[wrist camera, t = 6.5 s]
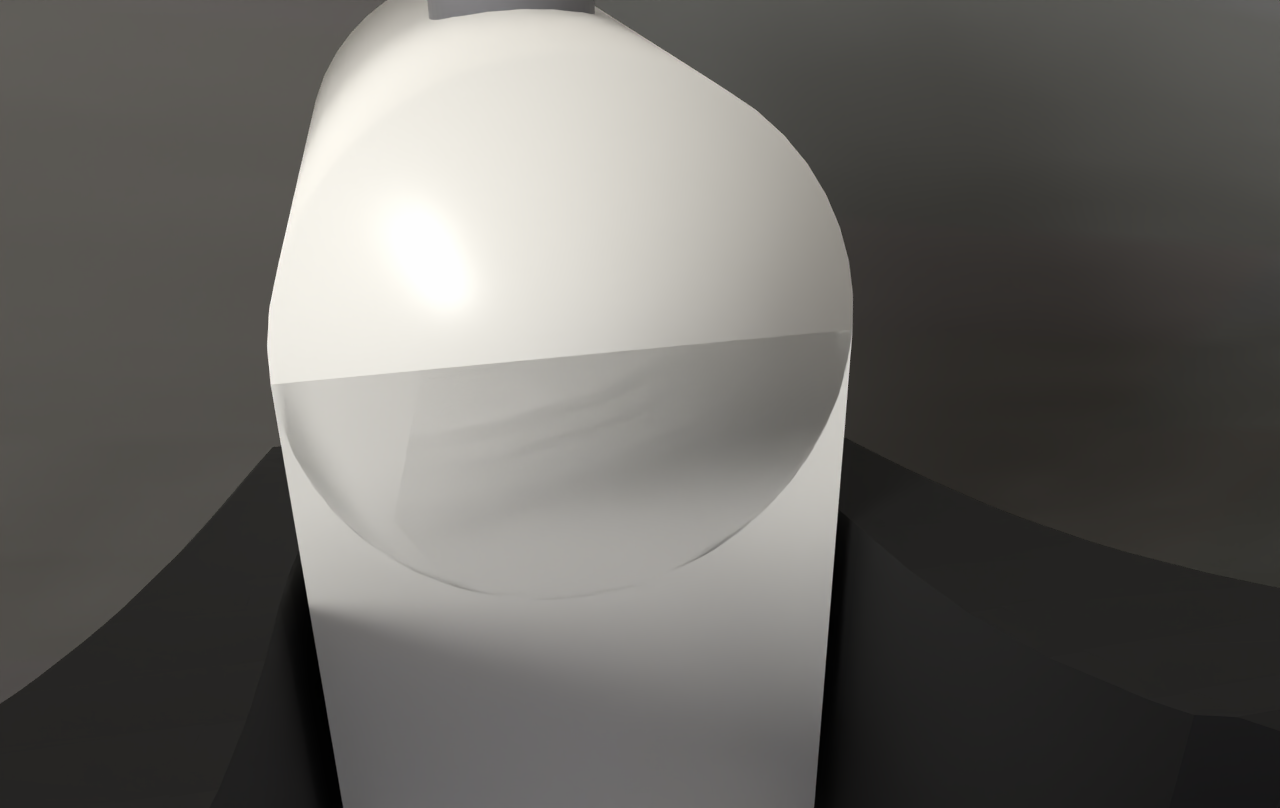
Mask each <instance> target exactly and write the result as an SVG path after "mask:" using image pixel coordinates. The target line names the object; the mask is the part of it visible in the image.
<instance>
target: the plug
mask: <svg viewBox="0 0 1280 808" xmlns="http://www.w3.org/2000/svg"><path fill="white" fill-rule="evenodd" d="M852 330H853V291H852V283H851V274H850V266H849V260H848V256H847V252H846V248H845V245H844V241H843V237H842V233H841V229H840V226H839V224H838V222H837V219H836V217H835V214H834V212H833V210H832V207H831V205H830V203H829V200H828V198H827V196H826V194H825V192H824V190H823V189H822V187H821V185H820V184H819V182H818V180H817V179H816V177H815V175H814V174H813V172H812V171H811V169H810V167H809V166H808V164H807V163H806V161H805V160H804V159H803V158H802V157H801V155H800V154H799V153H798V152H797V151H796V149H795V148H794V147H793V146H792V144H791V143H790V142H789V141H788V140H787V138H786V137H785V136H784V135H783V134H782V133H781V132H780V131H779V130H778V129H776V128H775V127H774V126H773V125H772V124H771V123H770V122H769V121H768V120H766V119H765V118H764V117H763V116H762V115H761V114H760V113H759V112H758V111H757V110H755V109H754V108H752V107H751V106H749V105H748V104H746V103H745V102H743V101H742V100H740V99H739V98H737V97H736V96H734V95H733V94H731V93H730V92H728V91H727V90H725V89H724V88H722V87H721V86H719V85H718V84H716V83H715V82H713V81H711V80H710V79H708V78H707V77H705V76H704V75H702V74H701V73H699V72H697V71H696V70H694V69H693V68H691V67H690V66H688V65H686V64H685V63H683V62H682V61H680V60H679V59H677V58H675V57H674V56H672V55H671V54H669V53H668V52H666V51H664V50H663V49H661V48H660V47H658V46H657V45H655V44H653V43H652V42H650V41H649V40H647V39H646V38H644V37H643V36H641V35H639V34H638V33H636V32H635V31H633V30H632V29H630V28H628V27H627V26H625V25H624V24H622V23H621V22H619V21H617V20H616V19H614V18H613V17H611V16H610V15H608V14H606V13H605V12H603V11H602V10H600V9H599V8H597V7H595V5H594V0H387V1H385V2H384V3H383V4H382V5H380V6H379V7H378V8H377V9H375V10H374V11H373V12H371V13H370V14H369V15H368V16H367V17H366V18H365V19H364V20H363V21H362V22H361V23H360V24H359V25H358V26H357V27H356V28H355V29H354V30H353V31H352V32H351V33H350V35H349V36H348V37H347V39H346V40H345V42H344V43H343V44H342V46H341V47H340V48H339V50H338V51H337V53H336V54H335V56H334V58H333V60H332V62H331V64H330V66H329V68H328V70H327V71H326V73H325V75H324V78H323V81H322V84H321V86H320V89H319V92H318V95H317V98H316V102H315V106H314V110H313V115H312V119H311V124H310V128H309V132H308V137H307V141H306V146H305V150H304V154H303V159H302V163H301V168H300V172H299V176H298V181H297V185H296V190H295V194H294V198H293V203H292V207H291V212H290V216H289V220H288V225H287V229H286V234H285V238H284V242H283V247H282V251H281V256H280V260H279V264H278V269H277V273H276V278H275V283H274V288H273V293H272V298H271V303H270V308H269V324H268V342H267V350H268V360H269V371H270V381H271V389H272V394H273V400H274V406H275V412H276V418H277V424H278V430H279V435H280V441H281V447H282V453H283V459H284V465H285V470H286V476H287V482H288V488H289V494H290V500H291V505H292V511H293V517H294V523H295V529H296V535H297V540H298V546H299V552H300V558H301V564H302V570H303V576H304V581H305V587H306V593H307V599H308V605H309V611H310V616H311V622H312V628H313V634H314V640H315V646H316V651H317V657H318V663H319V669H320V675H321V681H322V687H323V692H324V698H325V704H326V710H327V716H328V722H329V727H330V733H331V739H332V745H333V751H334V757H335V762H336V768H337V774H338V780H339V786H340V792H341V797H342V803H343V808H814V802H815V790H816V777H817V765H818V752H819V740H820V727H821V715H822V703H823V690H824V678H825V665H826V653H827V640H828V628H829V616H830V603H831V591H832V578H833V566H834V553H835V541H836V529H837V516H838V504H839V491H840V479H841V466H842V454H843V442H844V429H845V417H846V404H847V392H848V379H849V367H850V355H851V342H852Z"/></svg>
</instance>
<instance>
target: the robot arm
mask: <svg viewBox="0 0 1280 808" xmlns="http://www.w3.org/2000/svg"><path fill="white" fill-rule="evenodd" d="M0 808H343V803H342V797H341V792H340V786H339V780H338V774H337V768H336V762H335V757H334V751H333V745H332V739H331V733H330V727H329V722H328V716H327V710H326V704H325V698H324V692H323V687H322V681H321V675H320V669H319V663H318V657H317V651H316V646H315V640H314V634H313V628H312V622H311V616H310V611H309V605H308V599H307V593H306V587H305V581H304V576H303V570H302V564H301V558H300V552H299V546H298V540H297V535H296V529H295V523H294V517H293V511H292V505H291V500H290V494H289V488H288V482H287V476H286V470H285V465H284V459H283V453H282V447H273V448H272V449H271V450H270V451H269V452H268V453H267V454H266V455H265V457H264V458H263V459H262V460H261V461H260V462H259V463H258V464H257V465H256V467H255V468H254V469H253V470H252V471H251V472H250V473H249V475H248V476H247V477H246V478H245V479H244V481H243V482H242V483H241V484H240V485H239V486H238V488H237V489H236V490H235V491H234V492H233V494H232V495H231V496H230V497H229V498H228V499H227V501H226V502H225V503H224V504H223V505H222V506H221V508H220V509H219V510H218V511H217V512H216V513H215V515H214V516H213V517H212V518H211V519H210V520H209V521H208V522H207V524H206V525H205V526H204V527H203V528H202V529H201V530H200V531H199V532H198V533H197V534H196V536H195V537H194V538H193V539H192V540H191V541H190V542H189V543H188V544H187V545H186V547H185V548H184V549H183V550H182V551H181V552H180V553H179V554H178V555H177V556H176V557H175V558H174V559H173V560H172V561H171V562H170V563H169V564H168V565H167V566H166V567H165V568H164V569H163V570H162V571H161V572H160V573H159V574H158V575H157V576H156V577H155V578H153V579H152V580H151V581H150V582H149V583H148V584H147V585H146V586H145V587H144V588H143V589H142V590H141V591H140V592H139V593H138V594H137V595H136V596H135V597H134V598H133V599H132V600H131V601H130V602H129V603H128V604H127V605H126V606H125V607H124V608H123V609H121V610H120V611H119V612H118V613H117V614H116V615H115V616H113V617H112V618H111V619H110V620H109V621H108V622H107V623H106V624H104V625H103V626H102V627H101V628H100V629H98V630H97V631H96V632H95V633H94V634H92V635H91V636H90V637H89V638H88V639H86V640H85V641H84V642H83V643H82V644H80V645H79V646H78V647H77V648H75V649H74V650H73V651H71V652H70V653H69V654H68V655H66V656H65V657H64V658H62V659H61V660H60V661H59V662H57V663H56V664H55V665H53V666H52V667H51V668H49V669H48V670H47V671H46V672H44V673H43V674H42V675H40V676H39V677H38V678H37V679H35V680H34V681H32V682H31V683H30V684H28V685H27V686H26V687H24V688H23V689H22V690H20V691H19V692H17V693H16V694H14V695H13V696H11V697H10V698H8V699H7V700H5V701H4V702H2V703H1V704H0ZM814 808H1280V588H1277V587H1271V586H1265V585H1261V584H1256V583H1251V582H1247V581H1242V580H1237V579H1233V578H1228V577H1223V576H1218V575H1214V574H1209V573H1205V572H1201V571H1197V570H1193V569H1189V568H1185V567H1181V566H1177V565H1174V564H1170V563H1166V562H1162V561H1158V560H1154V559H1150V558H1146V557H1142V556H1138V555H1135V554H1131V553H1127V552H1124V551H1120V550H1117V549H1114V548H1110V547H1107V546H1103V545H1100V544H1097V543H1093V542H1090V541H1087V540H1084V539H1081V538H1078V537H1075V536H1072V535H1069V534H1066V533H1063V532H1061V531H1058V530H1055V529H1052V528H1049V527H1046V526H1043V525H1040V524H1037V523H1034V522H1031V521H1028V520H1026V519H1023V518H1020V517H1017V516H1015V515H1012V514H1010V513H1007V512H1004V511H1002V510H999V509H997V508H994V507H992V506H989V505H987V504H984V503H982V502H980V501H977V500H975V499H973V498H970V497H968V496H966V495H964V494H961V493H959V492H957V491H954V490H952V489H950V488H947V487H945V486H943V485H940V484H938V483H936V482H934V481H932V480H929V479H927V478H925V477H923V476H921V475H919V474H917V473H915V472H912V471H910V470H908V469H906V468H904V467H902V466H900V465H898V464H896V463H894V462H892V461H890V460H888V459H886V458H884V457H882V456H880V455H878V454H876V453H874V452H872V451H870V450H868V449H866V448H864V447H862V446H860V445H858V444H856V443H854V442H852V441H850V440H848V439H846V438H845V437H844V442H843V454H842V466H841V479H840V491H839V504H838V516H837V529H836V541H835V553H834V566H833V578H832V591H831V603H830V616H829V628H828V640H827V653H826V665H825V678H824V690H823V703H822V715H821V727H820V740H819V752H818V765H817V777H816V790H815V802H814Z"/></svg>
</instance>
